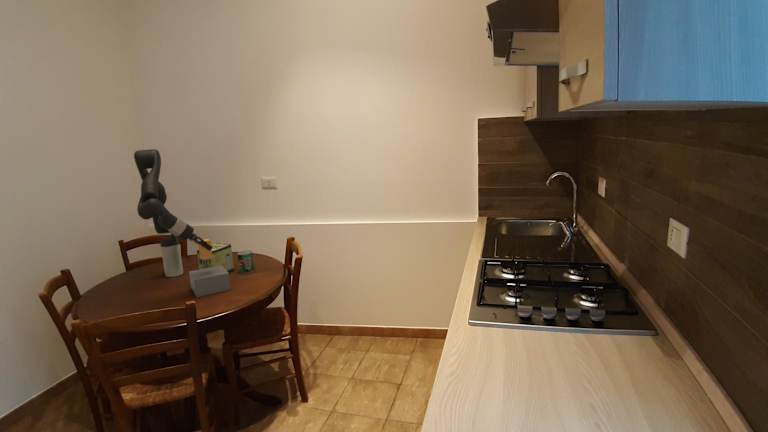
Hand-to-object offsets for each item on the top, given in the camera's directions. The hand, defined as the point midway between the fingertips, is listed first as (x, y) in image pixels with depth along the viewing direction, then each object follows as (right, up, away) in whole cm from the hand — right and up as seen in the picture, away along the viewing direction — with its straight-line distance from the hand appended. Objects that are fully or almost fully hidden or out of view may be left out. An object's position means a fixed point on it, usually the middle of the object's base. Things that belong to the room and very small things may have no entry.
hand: (209, 248), depth 218 cm
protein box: (-6, -16, +26) cm, 31 cm away
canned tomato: (+10, -15, +28) cm, 33 cm away
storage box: (0, -21, +3) cm, 21 cm away
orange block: (-1, -5, 0) cm, 5 cm away
